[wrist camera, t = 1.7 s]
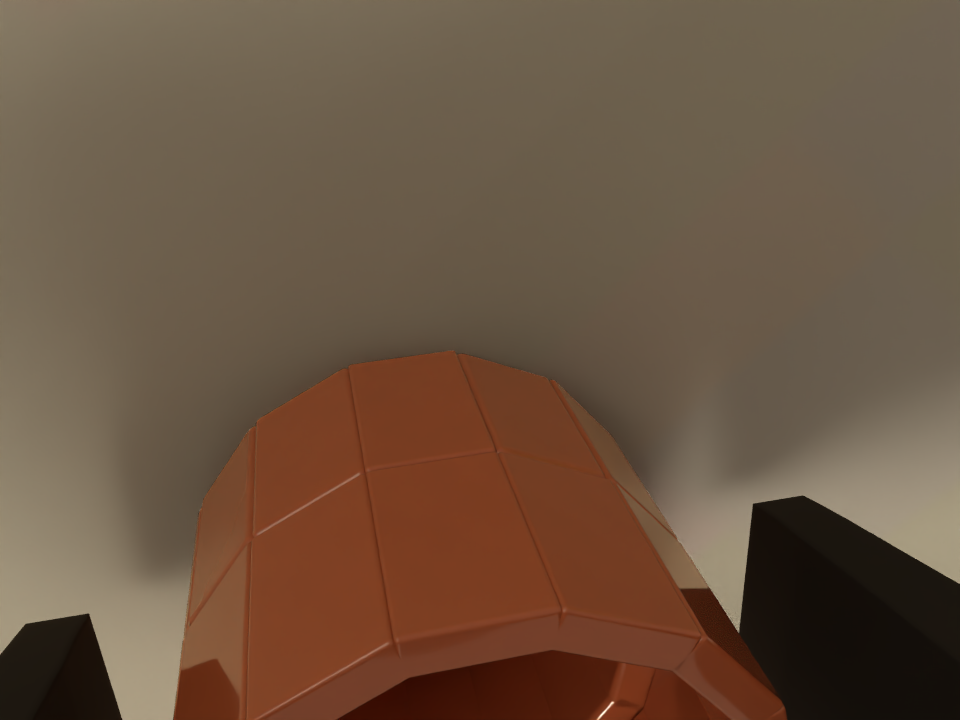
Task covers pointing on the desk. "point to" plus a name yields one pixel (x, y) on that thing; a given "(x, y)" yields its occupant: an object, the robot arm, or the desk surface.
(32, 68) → the desk surface
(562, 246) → the desk surface
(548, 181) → the desk surface
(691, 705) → the terracotta cup
